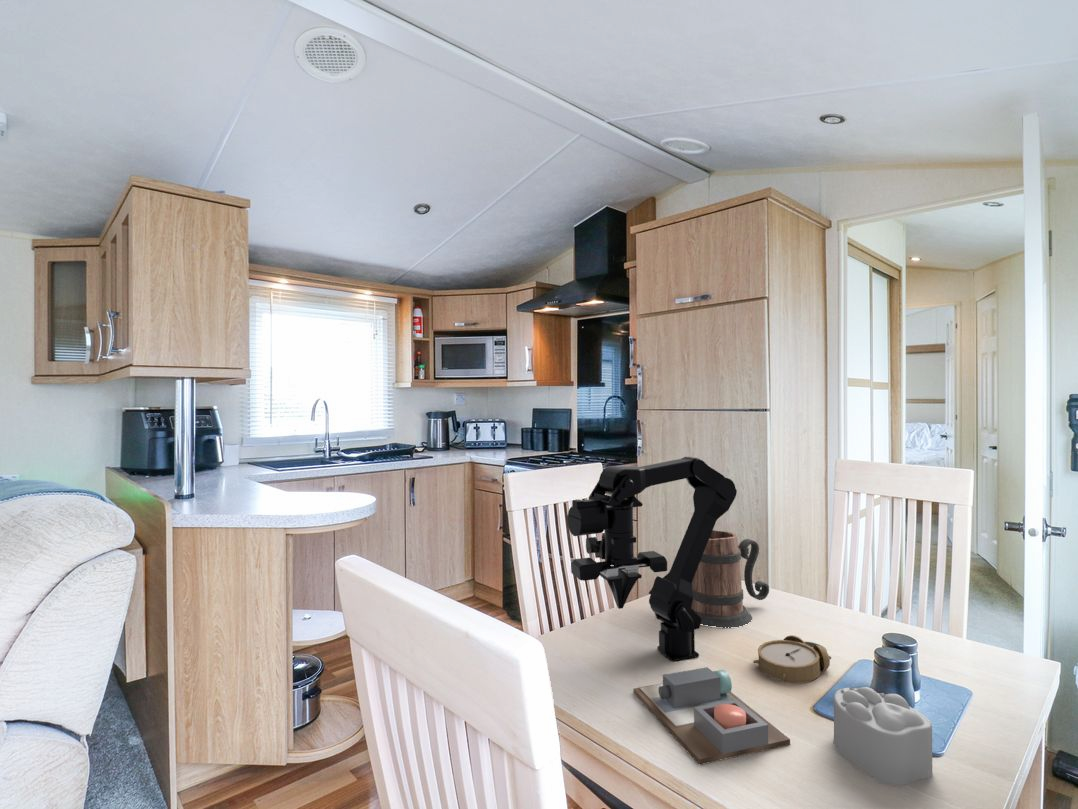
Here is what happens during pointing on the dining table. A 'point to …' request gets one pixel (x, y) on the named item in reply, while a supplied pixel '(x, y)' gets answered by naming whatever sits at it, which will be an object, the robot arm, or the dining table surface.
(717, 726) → the button housing
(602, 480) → the robot arm
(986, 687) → the dining table surface
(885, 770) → the lumpy-topped squat cylinder
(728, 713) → the button
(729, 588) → the tankard
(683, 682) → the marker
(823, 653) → the alarm clock
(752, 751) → the picture frame
